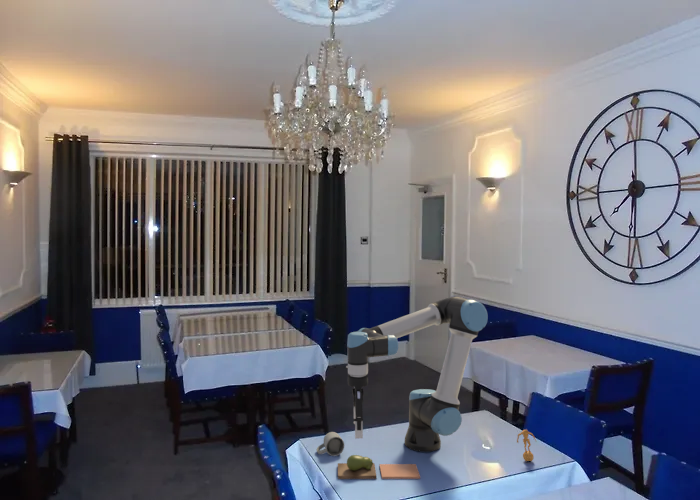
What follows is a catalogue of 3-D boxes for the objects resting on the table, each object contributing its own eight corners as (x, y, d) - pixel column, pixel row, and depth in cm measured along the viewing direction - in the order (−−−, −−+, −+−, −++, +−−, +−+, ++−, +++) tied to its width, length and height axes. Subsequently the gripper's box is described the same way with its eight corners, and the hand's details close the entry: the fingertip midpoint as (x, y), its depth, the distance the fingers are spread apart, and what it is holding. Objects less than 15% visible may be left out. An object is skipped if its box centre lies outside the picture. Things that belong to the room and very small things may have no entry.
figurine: (520, 464, 202) (521, 434, 202) (513, 457, 208) (514, 428, 208) (540, 462, 204) (541, 432, 203) (532, 456, 210) (533, 426, 209)
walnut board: (374, 466, 199) (374, 463, 199) (376, 478, 189) (376, 475, 189) (337, 466, 199) (337, 463, 199) (337, 478, 189) (338, 475, 189)
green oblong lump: (346, 452, 195) (370, 453, 199) (343, 466, 195) (367, 467, 198) (351, 458, 190) (376, 459, 193) (348, 473, 190) (373, 473, 193)
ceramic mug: (339, 446, 216) (339, 428, 216) (344, 455, 209) (344, 436, 208) (314, 449, 214) (314, 431, 213) (318, 458, 206) (318, 439, 206)
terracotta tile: (415, 466, 200) (415, 464, 199) (420, 478, 190) (420, 476, 190) (379, 466, 199) (379, 464, 199) (381, 478, 189) (381, 476, 189)
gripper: (346, 365, 205) (347, 418, 206) (348, 384, 180) (348, 444, 181) (365, 365, 205) (366, 418, 206) (370, 384, 180) (370, 444, 181)
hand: (358, 430), depth 193 cm, fingers open, 13 cm apart
